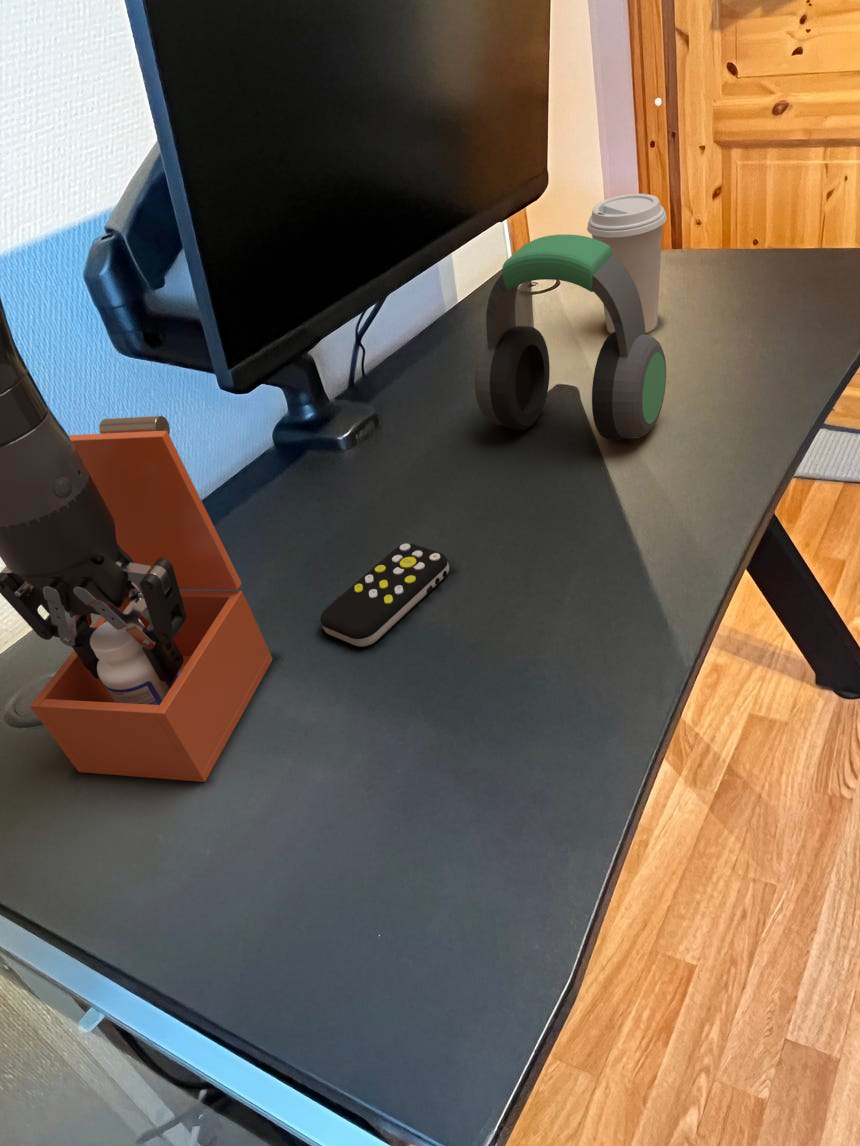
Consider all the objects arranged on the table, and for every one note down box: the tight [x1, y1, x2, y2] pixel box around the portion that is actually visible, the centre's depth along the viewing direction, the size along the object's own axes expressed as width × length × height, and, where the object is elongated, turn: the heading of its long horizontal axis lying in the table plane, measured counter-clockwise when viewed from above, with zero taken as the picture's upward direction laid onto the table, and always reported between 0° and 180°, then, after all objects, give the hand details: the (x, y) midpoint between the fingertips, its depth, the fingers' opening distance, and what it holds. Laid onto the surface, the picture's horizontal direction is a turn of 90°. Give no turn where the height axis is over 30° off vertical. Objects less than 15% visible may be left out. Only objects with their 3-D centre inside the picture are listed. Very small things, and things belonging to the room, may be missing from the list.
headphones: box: [474, 234, 667, 441], centre depth 91 cm, size 19×11×20 cm, turn 63°
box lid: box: [68, 415, 242, 590], centre depth 69 cm, size 14×12×5 cm
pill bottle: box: [90, 619, 181, 705], centre depth 68 cm, size 5×5×10 cm
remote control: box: [319, 543, 450, 647], centre depth 79 cm, size 6×13×2 cm, turn 143°
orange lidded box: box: [29, 589, 274, 783], centre depth 71 cm, size 14×12×8 cm
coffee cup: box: [586, 193, 668, 334], centre depth 109 cm, size 10×10×15 cm
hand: (139, 671), depth 68 cm, fingers closed on pill bottle, 5 cm apart
